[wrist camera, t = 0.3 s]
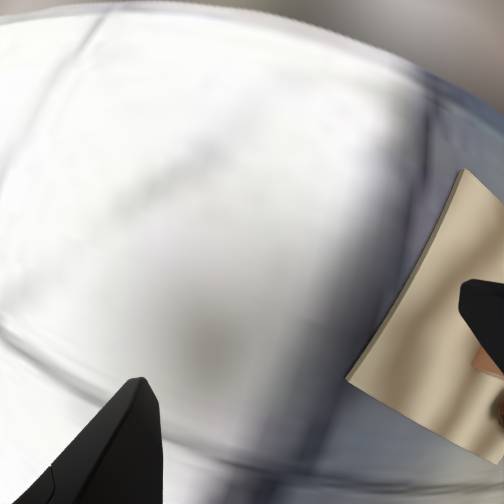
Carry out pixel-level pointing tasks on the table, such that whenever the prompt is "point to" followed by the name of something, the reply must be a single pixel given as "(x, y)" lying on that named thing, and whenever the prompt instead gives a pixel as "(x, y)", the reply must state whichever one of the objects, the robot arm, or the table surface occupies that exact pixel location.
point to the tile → (486, 365)
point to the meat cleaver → (501, 413)
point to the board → (443, 329)
